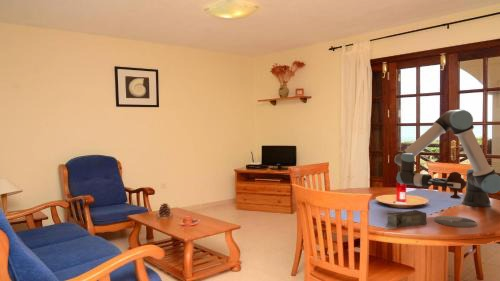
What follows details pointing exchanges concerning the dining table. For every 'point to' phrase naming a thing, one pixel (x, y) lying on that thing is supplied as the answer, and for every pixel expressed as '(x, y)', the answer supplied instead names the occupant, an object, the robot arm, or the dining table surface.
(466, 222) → the disc
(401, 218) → the dark grey rectangular block
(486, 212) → the dining table surface
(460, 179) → the ice cream bowl
